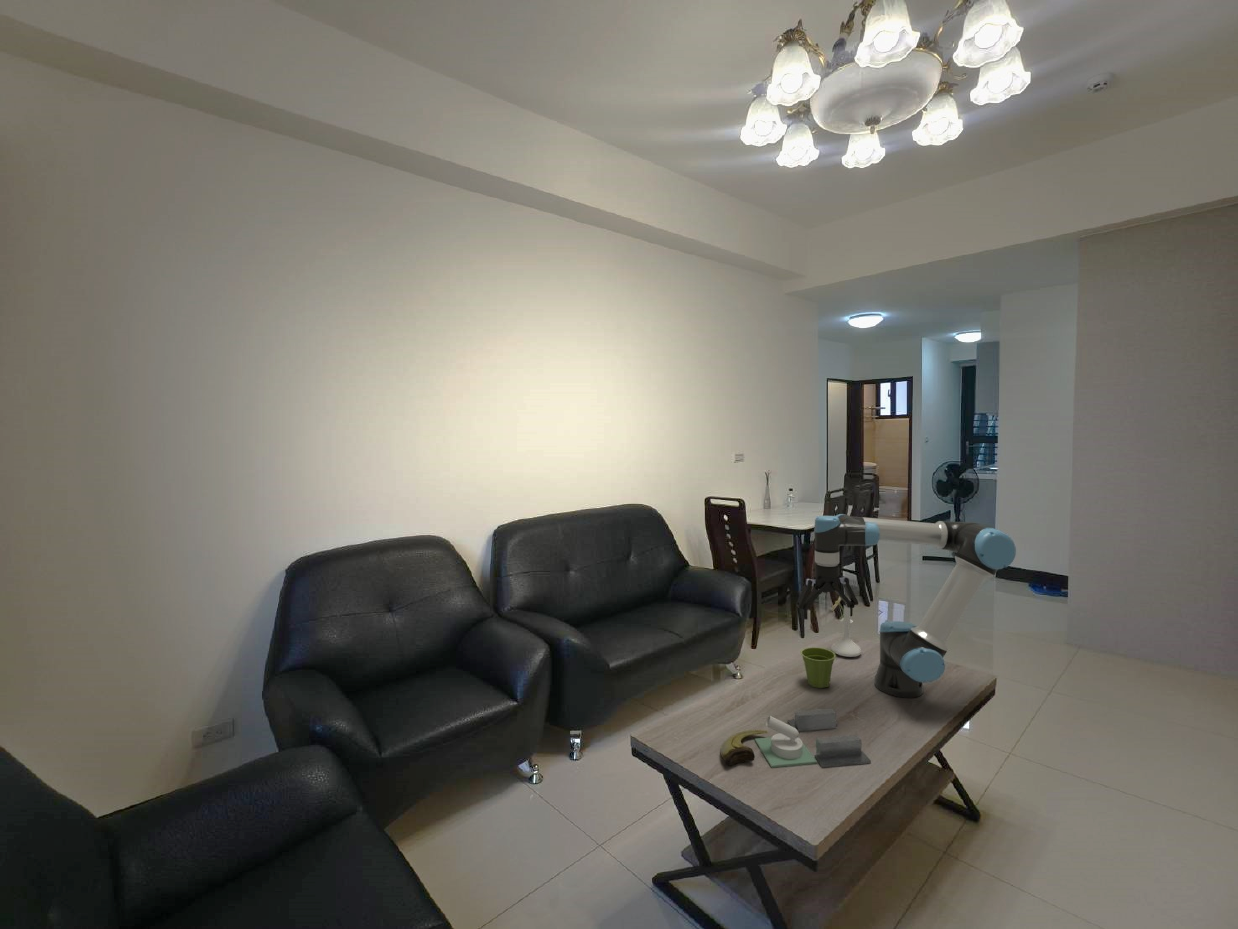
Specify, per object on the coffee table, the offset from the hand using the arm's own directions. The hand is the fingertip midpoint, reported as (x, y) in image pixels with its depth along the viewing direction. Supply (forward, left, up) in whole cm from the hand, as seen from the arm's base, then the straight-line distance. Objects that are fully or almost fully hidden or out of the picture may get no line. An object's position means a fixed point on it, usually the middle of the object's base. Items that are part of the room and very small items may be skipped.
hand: (827, 627), depth 177 cm
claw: (+35, +20, -26) cm, 48 cm away
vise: (+10, +19, -27) cm, 34 cm away
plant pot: (-4, -15, -27) cm, 31 cm away
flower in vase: (-26, -37, -27) cm, 53 cm away
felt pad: (+24, +22, -27) cm, 42 cm away
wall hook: (+24, +22, -26) cm, 42 cm away
